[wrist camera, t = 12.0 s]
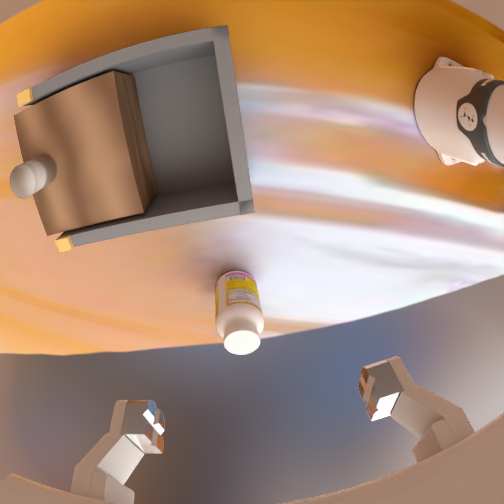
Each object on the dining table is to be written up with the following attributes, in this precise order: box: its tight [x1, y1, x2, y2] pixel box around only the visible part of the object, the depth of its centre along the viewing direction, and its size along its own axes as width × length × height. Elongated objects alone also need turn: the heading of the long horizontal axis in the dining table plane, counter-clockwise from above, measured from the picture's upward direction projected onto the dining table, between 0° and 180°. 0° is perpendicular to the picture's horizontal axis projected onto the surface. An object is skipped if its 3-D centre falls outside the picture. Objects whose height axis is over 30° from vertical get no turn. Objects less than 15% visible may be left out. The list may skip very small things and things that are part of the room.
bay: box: [17, 25, 255, 252], centre depth 30 cm, size 24×20×11 cm
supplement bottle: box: [215, 271, 264, 355], centre depth 42 cm, size 7×7×13 cm
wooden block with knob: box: [10, 71, 158, 236], centre depth 28 cm, size 14×16×13 cm
